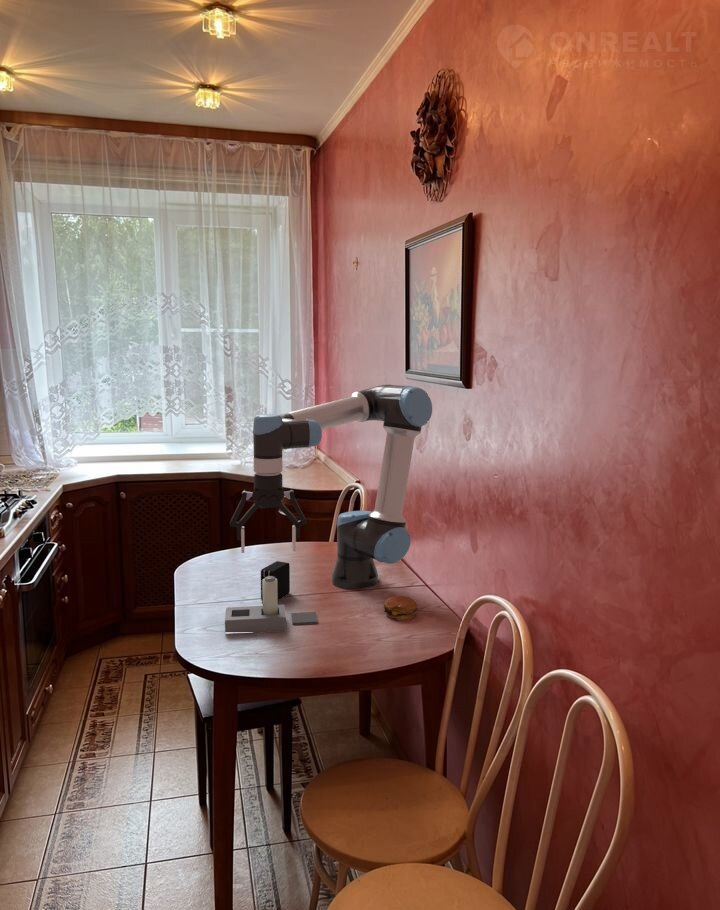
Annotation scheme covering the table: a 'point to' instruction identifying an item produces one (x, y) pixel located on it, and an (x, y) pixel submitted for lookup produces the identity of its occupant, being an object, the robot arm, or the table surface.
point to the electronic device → (278, 577)
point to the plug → (270, 596)
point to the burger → (400, 607)
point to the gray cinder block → (254, 620)
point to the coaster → (304, 618)
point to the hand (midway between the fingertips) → (268, 550)
